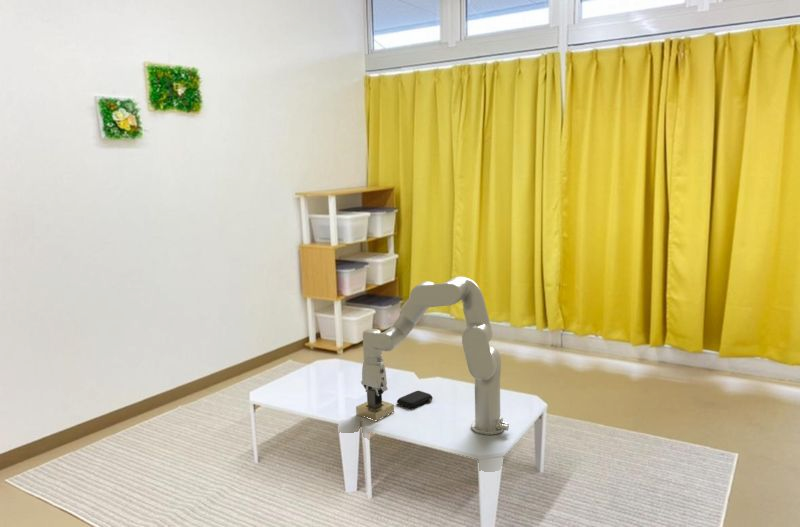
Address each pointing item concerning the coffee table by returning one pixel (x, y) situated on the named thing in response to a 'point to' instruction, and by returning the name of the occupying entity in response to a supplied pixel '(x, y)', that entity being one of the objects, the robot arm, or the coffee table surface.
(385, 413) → the socket plate
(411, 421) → the coffee table surface
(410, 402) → the carrying case or bag
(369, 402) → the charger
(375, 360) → the robot arm
